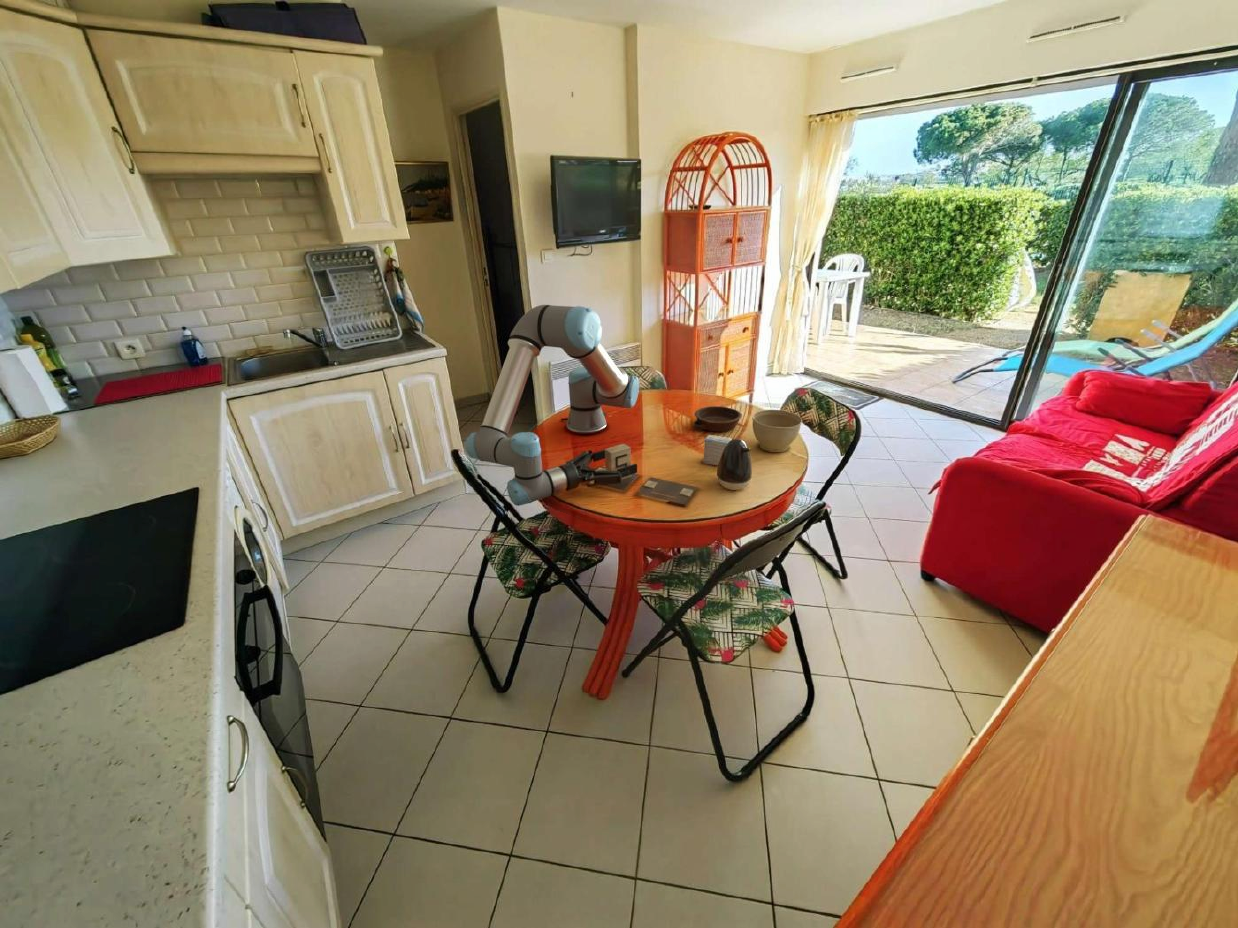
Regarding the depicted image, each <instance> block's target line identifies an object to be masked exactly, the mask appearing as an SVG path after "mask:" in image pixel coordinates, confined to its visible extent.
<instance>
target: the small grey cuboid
mask: <svg viewBox="0 0 1238 928" xmlns="http://www.w3.org/2000/svg"><path fill="white" fill-rule="evenodd" d="M604 450H605V459H604V462H605V463H604V466H605V468H606V471H617V469H620V468H623V467H626V466H629V465H632V463H631V461H632V455H631V453H632V449H631V446H629V445H627V444H625V443H622V444H618V445H614V446H611V447H608V448H604ZM629 477H631V475H629V476H626V477H623V478H621V479H626V478H629Z"/></svg>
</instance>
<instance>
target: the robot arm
mask: <svg viewBox="0 0 1238 928" xmlns="http://www.w3.org/2000/svg"><path fill="white" fill-rule="evenodd" d="M601 324H602V321H601V319H600V316H599V314H598V313H597V312H596V311H595V310H594V309H592V308H590V307H585V306H580V305H576V306H570V305H569V306H567V305H552V304H551V305H550V304H540V305H537V306H535V307H532V308H531V309H529V310H528V311H527V312H525V313H524V314H523V315H522V317H520V319H518V321H517V323H516V324H515V326H514V327H513V328H512V331H511V333H510V335H509V337H508V341H507V345H508V348H509V349H508V351H507V354H506V357H505V360H504V363H503V366H502V368H501V370H500V373H499V377H498V379H497V381H496V385H495V388H494V390H493V393H492V395H491V398H490V401H489V404H488V407H487V409H486V413H485V415H484V418H483V420H482V422H481V423H482V424H481V426H480V428H479V431H474V432H471V433H470V434H469V436H467V437H466V439H465V444H464V450H465V452H466V454H467V456H468V457H469V458H470V459H475V460H477V461H480V462H485V463H491V464H497V465H501V466H506V467H510V468H513V471H514V472H513V473H514V478H512V479H509V480H508V481H507V483H506V491H507V494H508V497H509V500H510V502H511V503H512V504H513V505H514V506H516V507H519V506H523V505H527V504H532V503H534V502H537V501H539V500H542V499H546V498H549V497H552V496H555V495H559V494H561V493H564V492H565V491H566V492H567V491H568V492H569V491H571V490H574V489H577V488H578V487H579V486H580V484H581V483H586V486H587V487H588V488H589V487H595V486H601V485H607V484H620V483H622V479H621V478H623V477H626V476H629V475H631V474H637V473H638V464H637V463H633V464H631V465H629V466H626V467H623V468H620V469H617V471H601V470H596V469H597V468H591V467H589V466H590V464H591V463H592V462H599V461H603V460H605V449H602V450H599V451H595V452H593V450H592V449H589V450H588V451H587V450H584V451H582V452H581V453H580V454H578V455H576V456H575V457H573V458H572V459H569V460H567V461H565V463H563V464H561V465H558V466H554V467H551V468H547V469H544V470H543V461H542V448H541V444H540V437H539V436H538V434H536V433H535V432H532V431H531V432H530V431H527V432H524V431H522V432H517V433H515V434H513V435H511V437H508V435H509V433H510V430H511V429H510V428H511V426H512V424H513V421H514V418H515V415H516V412H517V409H518V406H519V404H520V401H521V397H522V395H523V392H524V389H525V386H526V384H527V380H528V377H529V375H530V373H531V369H532V366H533V364H534V361H535V358H537V357H539V356H540V354H541V352H542V349H543V348H545V347H549V348H559V349H562V350H563V351H564V353H565V354H566V355H567V356H568V357H570V358H571V359H574V360H578V362H579V363H580V364H581V365H582V366H580V367H577V368H574V369H572V370H570V372H569V373H568V383H567V384H568V392H569V393H568V395H569V408H570V409H569V412H568V416H567V417H562V418H560V421H566V430H567V431H568V432H570V433H572V434H574V435H581V436H590V435H591V436H592V435H596V434H599V433H602V432H603V431H605V430H606V429H607V427H608V426H607V420H606V417H607V416H608V415H607V412H604V411H603V409H602V406H608V407H615V408H621V409H632V408H633V407H634V406H635V405H636V403H637V401H638V396H639V391H640V380H639V377H638V376H636V375H633V374H632V375H629V374H628V373H627V372H626V371H625V370H624V368H622V367H619V366H617V365H616V363H615V362H614V361H613V359H612V358H611V356H610V355H609V353H608V352H607V350H606V349H605V347H604V345H602V344H601V340H602V336H603V326H602V325H601Z"/></svg>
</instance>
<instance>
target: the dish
mask: <svg viewBox="0 0 1238 928" xmlns="http://www.w3.org/2000/svg"><path fill="white" fill-rule="evenodd" d="M694 417H695V419H696V420H695V421H693V423H692V428H693V429H694V430H705V431H709V432H715V433H716V432H718V433H719V432H721V433H722V432H728V431H731V430H734V429H736V428H737V426H738V424H739V422H740V420H741V418H742V417H743V414H742V412H740V411H739V410H737V409H734V408H731V407H727V406H721V405H720V406H718V405H717V406H716V405H711V406H705V407H701V408H698V409H696V410H695V411H694Z"/></svg>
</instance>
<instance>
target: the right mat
mask: <svg viewBox="0 0 1238 928" xmlns="http://www.w3.org/2000/svg"><path fill="white" fill-rule="evenodd" d="M697 489H698V486H694V485H689V484H684V483H680V482H675V481H670V480H666V479H665V480H664V479H662V478H661V479H660V478H656V477H653V476H652V477H651V476H650V478H649V479H648V480H646V482H645V484H643V485H642V486H641V488H639V490H638V491H636V495H641V496H645V497H649V498H654V499H657V500H661V501H662V500H663V501H666V502H665V503H666V504H671V505H674V506H675V505H676V506H679V507H684V508H685V507H686V506H687V505H688V503H689V502H690V501H691V499H692V498H693V497H694V495H695V493H696V492H697V491H696V490H697Z"/></svg>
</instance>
